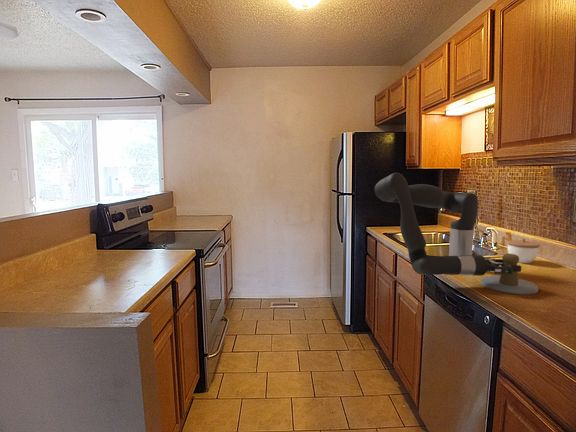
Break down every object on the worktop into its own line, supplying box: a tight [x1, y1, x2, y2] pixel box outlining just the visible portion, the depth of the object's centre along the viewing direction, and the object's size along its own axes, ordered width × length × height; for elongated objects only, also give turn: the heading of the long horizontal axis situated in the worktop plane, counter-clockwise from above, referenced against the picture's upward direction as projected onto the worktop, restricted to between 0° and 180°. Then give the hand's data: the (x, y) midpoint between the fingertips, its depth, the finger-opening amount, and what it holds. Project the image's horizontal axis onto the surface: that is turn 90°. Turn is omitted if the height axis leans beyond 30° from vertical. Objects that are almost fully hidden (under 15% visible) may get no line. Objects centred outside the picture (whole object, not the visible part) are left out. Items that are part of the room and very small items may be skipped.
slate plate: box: [480, 275, 539, 296], centre depth 129 cm, size 18×18×1 cm
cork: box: [499, 253, 519, 286], centre depth 128 cm, size 6×6×11 cm
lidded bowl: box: [507, 238, 541, 264], centre depth 164 cm, size 13×13×11 cm
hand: (513, 265), depth 128 cm, fingers open, 8 cm apart
